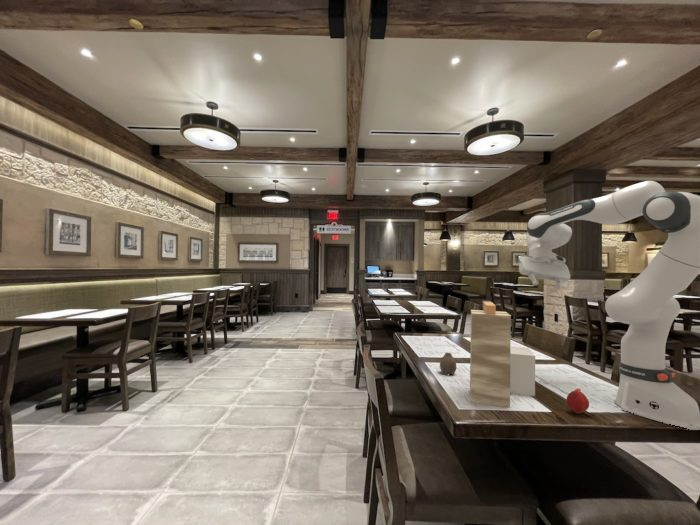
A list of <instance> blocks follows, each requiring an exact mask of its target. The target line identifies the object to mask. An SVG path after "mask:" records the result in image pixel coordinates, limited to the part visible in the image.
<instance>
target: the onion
mask: <svg viewBox="0 0 700 525" xmlns="http://www.w3.org/2000/svg"><path fill="white" fill-rule="evenodd" d="M566 404H567V406H568V408H569V409H570V410H572V411H573V413H575V414H577V415H580V414H582V413H584V412H586V411H587V410H588V409H589V408H590V401H589V399H588V397H587V396H586V395H585V394H584V393H583V392H582V391H581V389H580V387H577V388H575V390H572V391H570V392H569V393H568V394H567V396H566Z"/></svg>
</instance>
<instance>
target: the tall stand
mask: <svg viewBox="0 0 700 525" xmlns="http://www.w3.org/2000/svg"><path fill="white" fill-rule="evenodd" d="M511 317H512V316H511V314H510V313H508V312H507V311H501V310H499V311H498V310H496V315H494V314H486V313H485V312H484V310H483V309H481V310H480V309H470V347H469V348H470V350H469V351H470V352H469V353H470V354H469V355H470V356H469V357H470V360H469V363H470V364H469V368H470V369H469V372H470V373H469V394H470V402H472V403H477V404H483V405H484V404H485V405H490V406H497V407H498V406H499V407H503V408H511V393H510V346H511V342H512V341H511V336H512V335H511V333H512V332H511V331H512V329H511V328H512V327H511V326H512V325H511V321H512V320H511V319H512V318H511Z"/></svg>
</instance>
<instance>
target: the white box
mask: <svg viewBox="0 0 700 525" xmlns="http://www.w3.org/2000/svg"><path fill="white" fill-rule="evenodd" d="M510 394H513V395H514V394H515V395H521V396H529V397H536V355H535V354H534V353H533V351H531V350H530V349H529V347H521V346H520V347H519V346H511V345H510Z"/></svg>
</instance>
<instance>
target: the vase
mask: <svg viewBox="0 0 700 525" xmlns="http://www.w3.org/2000/svg"><path fill="white" fill-rule="evenodd" d="M439 368H440V371H441V373H442V374H443V373H444V374H443V375H446V374H452V375H454V374H455V373H456V370H457V361H456V359H455V358H454V356H453V355H452V353H451V352H445V353H444V355H443V356H442V357H441V359H440V361H439Z"/></svg>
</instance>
